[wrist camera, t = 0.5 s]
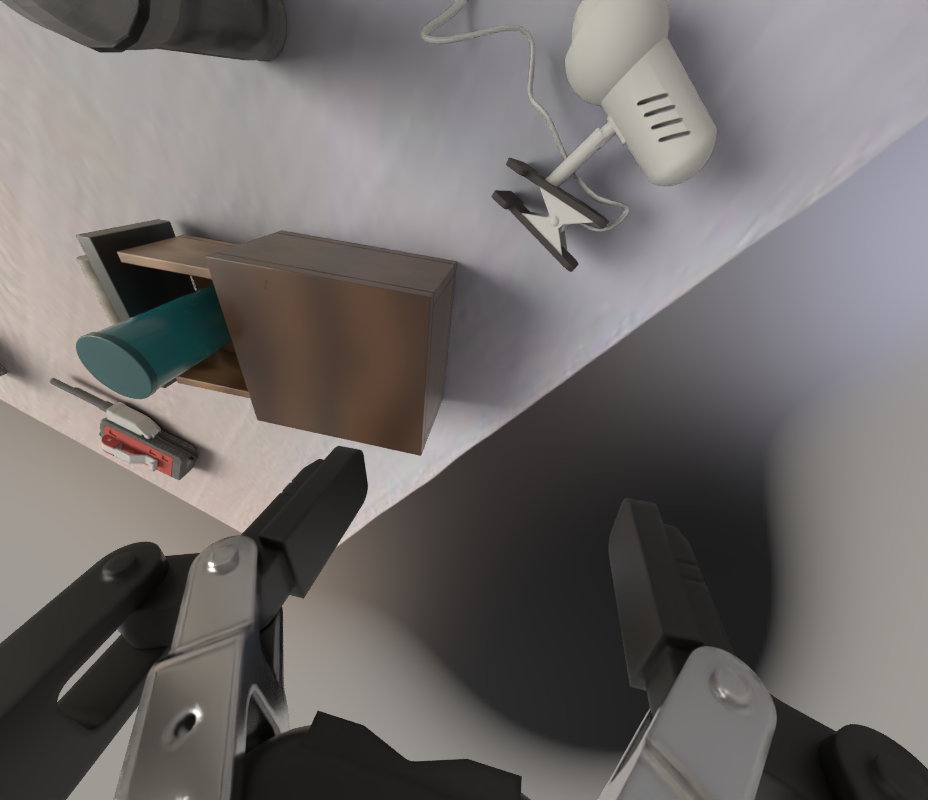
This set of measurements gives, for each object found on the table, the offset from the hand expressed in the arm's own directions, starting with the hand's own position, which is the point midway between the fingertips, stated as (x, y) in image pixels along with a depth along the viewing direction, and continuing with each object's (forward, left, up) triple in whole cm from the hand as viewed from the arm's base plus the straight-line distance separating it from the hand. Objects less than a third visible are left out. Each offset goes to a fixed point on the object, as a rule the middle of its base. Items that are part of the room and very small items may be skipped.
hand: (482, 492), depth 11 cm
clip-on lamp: (-11, 0, -23) cm, 26 cm away
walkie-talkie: (+31, -50, -23) cm, 63 cm away
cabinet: (+7, -13, -23) cm, 27 cm away
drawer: (+7, -27, -22) cm, 36 cm away
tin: (+7, -27, -21) cm, 34 cm away
